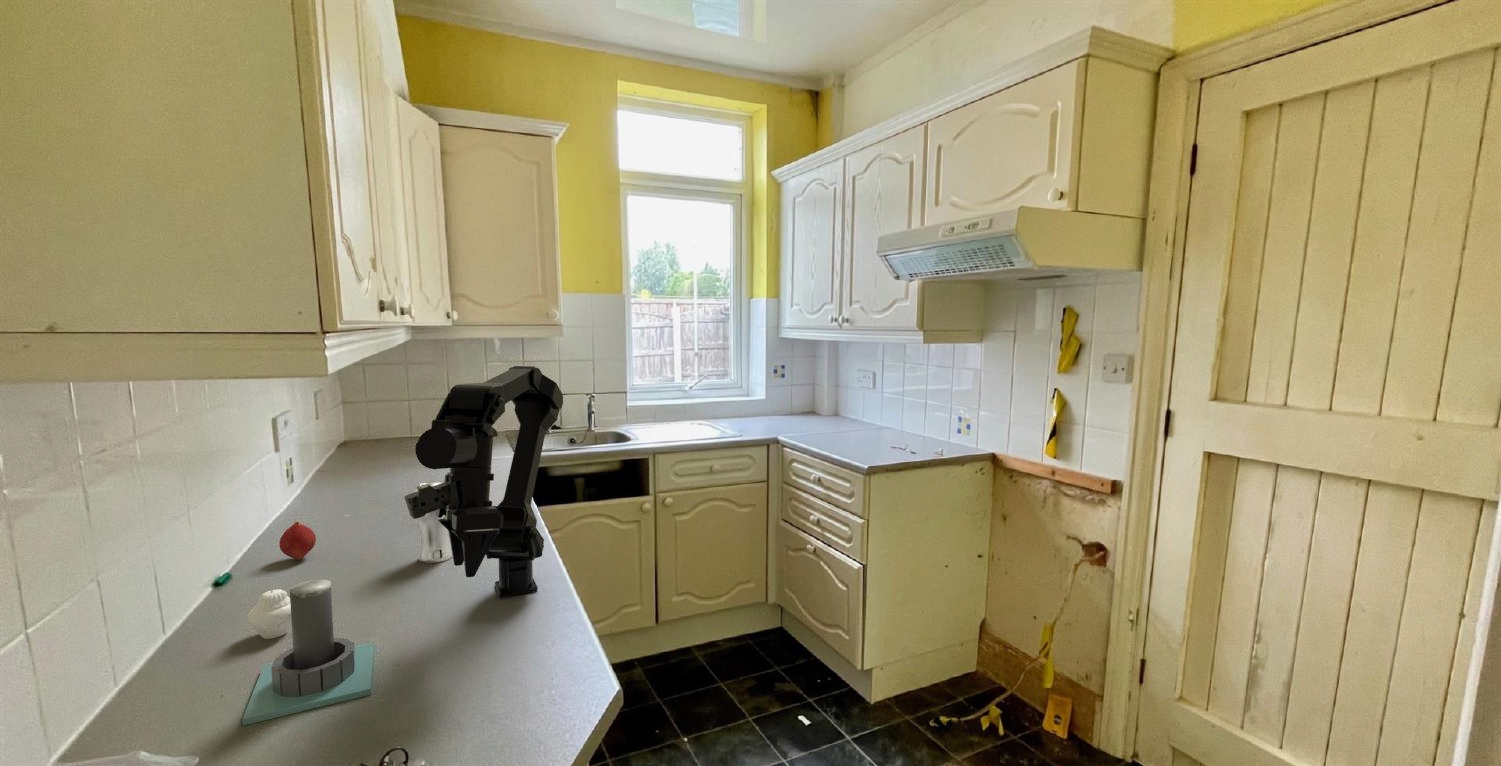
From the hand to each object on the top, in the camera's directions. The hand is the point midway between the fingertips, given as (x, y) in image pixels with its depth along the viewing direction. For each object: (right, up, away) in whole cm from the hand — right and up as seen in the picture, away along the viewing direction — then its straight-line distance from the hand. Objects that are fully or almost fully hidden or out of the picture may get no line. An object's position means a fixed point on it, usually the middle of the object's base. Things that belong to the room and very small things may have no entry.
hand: (463, 570), depth 92 cm
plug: (-15, -11, -10) cm, 21 cm away
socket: (-15, -12, -10) cm, 22 cm away
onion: (-47, -7, +30) cm, 56 cm away
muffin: (-30, -10, +2) cm, 32 cm away
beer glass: (-21, -7, +32) cm, 39 cm away
